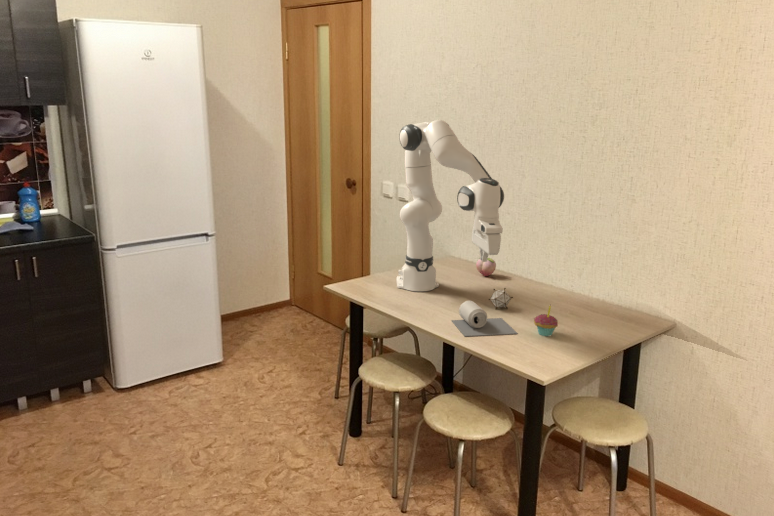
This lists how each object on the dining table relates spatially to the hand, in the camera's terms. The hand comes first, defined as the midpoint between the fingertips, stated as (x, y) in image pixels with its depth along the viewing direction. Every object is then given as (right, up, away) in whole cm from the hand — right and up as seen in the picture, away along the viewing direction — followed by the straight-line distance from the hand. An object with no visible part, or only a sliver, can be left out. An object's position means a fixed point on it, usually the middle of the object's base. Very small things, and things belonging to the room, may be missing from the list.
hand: (483, 260), depth 240 cm
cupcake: (+22, -27, -3) cm, 34 cm away
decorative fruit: (+11, -8, +67) cm, 68 cm away
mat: (0, -25, +2) cm, 25 cm away
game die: (+10, -19, +23) cm, 32 cm away
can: (-5, -18, +9) cm, 21 cm away
